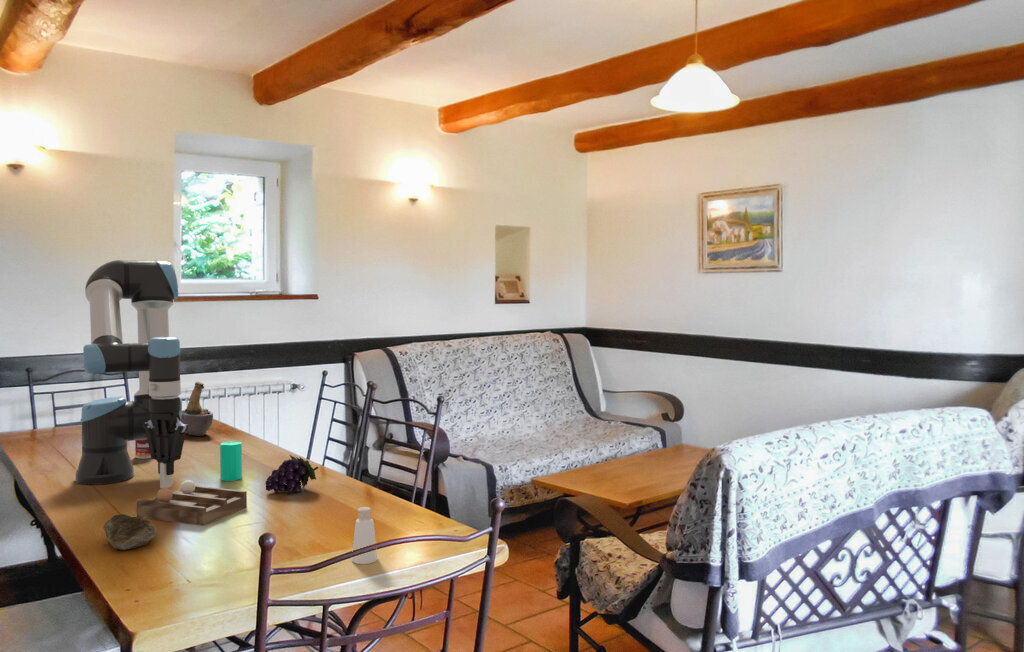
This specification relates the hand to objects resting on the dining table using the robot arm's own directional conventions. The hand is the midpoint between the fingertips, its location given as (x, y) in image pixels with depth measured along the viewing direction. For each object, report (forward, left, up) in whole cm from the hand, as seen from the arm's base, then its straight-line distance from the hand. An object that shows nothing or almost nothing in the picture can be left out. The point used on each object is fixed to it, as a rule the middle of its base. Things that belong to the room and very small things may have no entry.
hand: (166, 486), depth 201 cm
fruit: (+23, +22, -5) cm, 32 cm away
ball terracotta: (+7, -8, 0) cm, 10 cm away
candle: (-1, +27, -5) cm, 28 cm away
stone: (+15, -28, -5) cm, 32 cm away
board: (+12, -4, -4) cm, 13 cm away
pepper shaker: (+69, -19, -5) cm, 71 cm away
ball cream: (+7, 0, 0) cm, 7 cm away
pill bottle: (-45, +40, -5) cm, 61 cm away
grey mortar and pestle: (-56, +76, -5) cm, 95 cm away
